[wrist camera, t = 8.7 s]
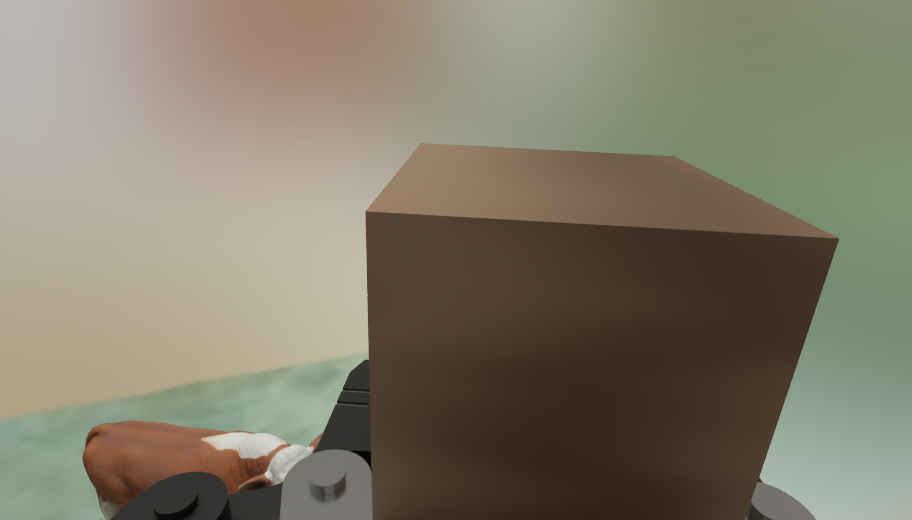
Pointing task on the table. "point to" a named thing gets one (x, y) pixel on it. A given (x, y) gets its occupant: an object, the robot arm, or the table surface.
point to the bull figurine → (181, 458)
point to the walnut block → (578, 336)
